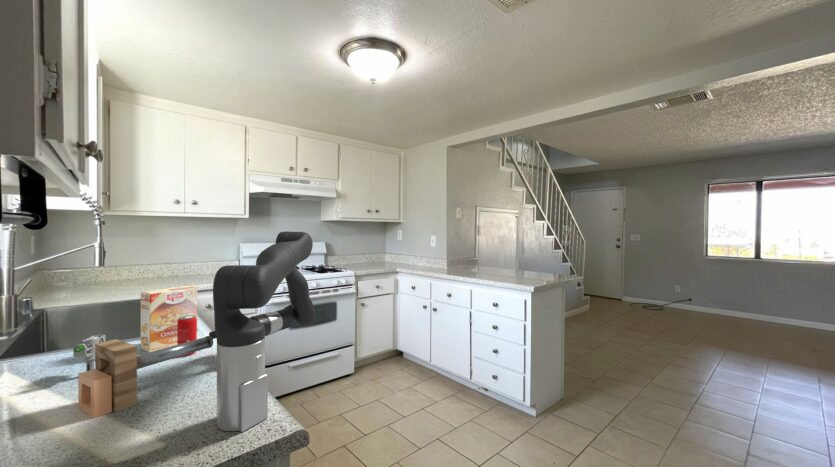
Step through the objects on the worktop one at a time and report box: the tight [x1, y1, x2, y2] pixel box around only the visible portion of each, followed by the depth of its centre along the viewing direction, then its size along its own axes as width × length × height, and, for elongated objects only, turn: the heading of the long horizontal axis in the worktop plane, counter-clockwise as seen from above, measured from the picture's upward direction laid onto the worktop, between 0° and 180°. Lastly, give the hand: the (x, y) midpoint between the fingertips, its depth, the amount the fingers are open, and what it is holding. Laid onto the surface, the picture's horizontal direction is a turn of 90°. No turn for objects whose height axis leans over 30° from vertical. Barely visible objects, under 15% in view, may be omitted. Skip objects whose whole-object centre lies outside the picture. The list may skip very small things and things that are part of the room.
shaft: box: [137, 335, 214, 370], centre depth 91 cm, size 21×3×3 cm, turn 152°
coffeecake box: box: [140, 285, 198, 353], centre depth 120 cm, size 15×7×20 cm, turn 150°
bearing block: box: [94, 338, 138, 413], centre depth 81 cm, size 10×4×14 cm, turn 62°
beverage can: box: [177, 315, 198, 357], centre depth 112 cm, size 5×5×12 cm
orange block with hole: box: [77, 368, 113, 419], centre depth 77 cm, size 8×3×8 cm, turn 62°
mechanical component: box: [72, 334, 107, 372], centre depth 95 cm, size 3×10×10 cm, turn 15°
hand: (218, 338), depth 103 cm, fingers open, 8 cm apart
